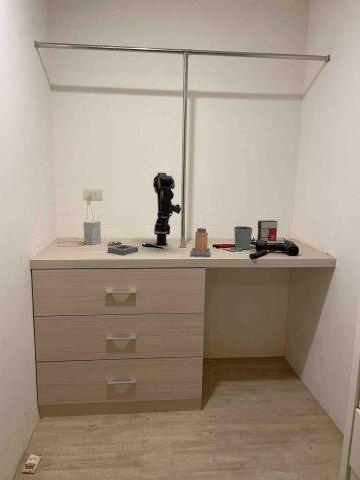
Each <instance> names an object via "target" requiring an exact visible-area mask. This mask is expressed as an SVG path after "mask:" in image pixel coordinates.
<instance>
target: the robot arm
mask: <svg viewBox="0 0 360 480" xmlns="http://www.w3.org/2000/svg"><path fill="white" fill-rule="evenodd" d="M175 186H176V184H175V180H174V178H173V176H172V175H167V173H166V172H161V171H160V172H157V175H156V176H154V177H153V182H152V188H153V189H154V192H155V194H156V195H157V200H156V201H157V213H156V214H157V219H156V221H155V224H154V229H153V232H154V233H153V234H154V235H156V243H155V246H167V245H168V242H167V235H170V234H171V226H170V223H169V222H170V218H171V217H172V216H173V213H176V214H178V215H180V213H181V211H182V207H181V205H180V204H173V201H172V200H173V199H174V196H175V195H174V192H173V191H172V190H175V188H176V187H175Z"/></svg>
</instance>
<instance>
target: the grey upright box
mask: <svg viewBox="0 0 360 480" xmlns="http://www.w3.org/2000/svg"><path fill="white" fill-rule="evenodd" d="M277 232H278V220H274V219H273V220H258V221H257V240H264V241H275V242H276V243H277V237H278V236H277V234H278V233H277ZM257 240H256V241H257Z"/></svg>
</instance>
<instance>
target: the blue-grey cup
mask: <svg viewBox="0 0 360 480" xmlns="http://www.w3.org/2000/svg"><path fill="white" fill-rule="evenodd" d="M233 231H234V248H235V247H236V248H242V249H248V250H250V249H251V243H252V234H253V227H251V226H243V225H240V226H239V225H238V226H235V227H234V228H233ZM236 248H235V249H236Z"/></svg>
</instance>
